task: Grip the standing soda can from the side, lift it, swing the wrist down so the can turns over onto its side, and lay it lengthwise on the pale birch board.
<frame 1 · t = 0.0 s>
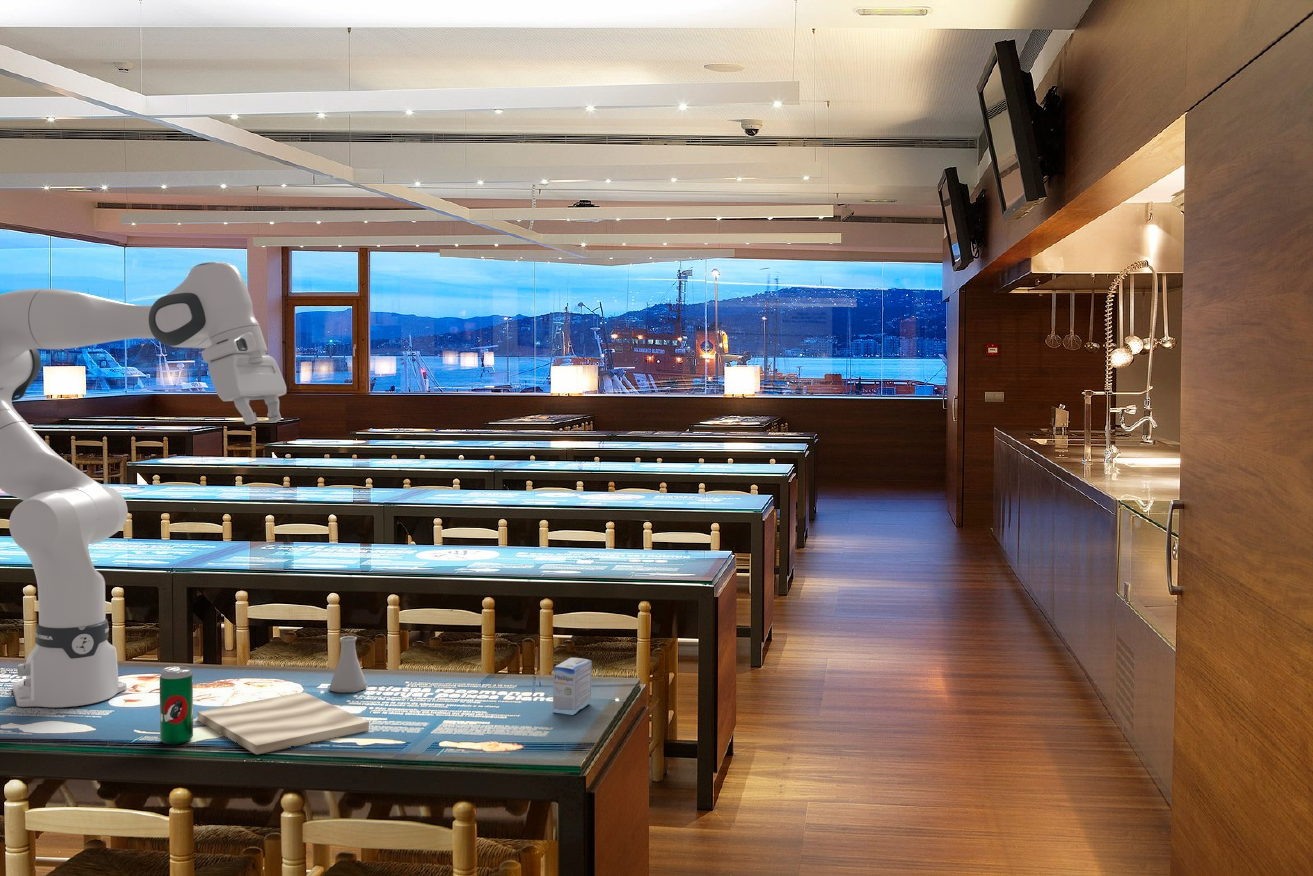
hand: (264, 422, 212), 52 cm above the table, tool tilted 20°, fingers open, 8 cm apart
birch board: (282, 725, 205), on the table
medicine box: (572, 710, 218), on the table
soda can: (176, 742, 196), on the table
flask: (348, 690, 229), on the table
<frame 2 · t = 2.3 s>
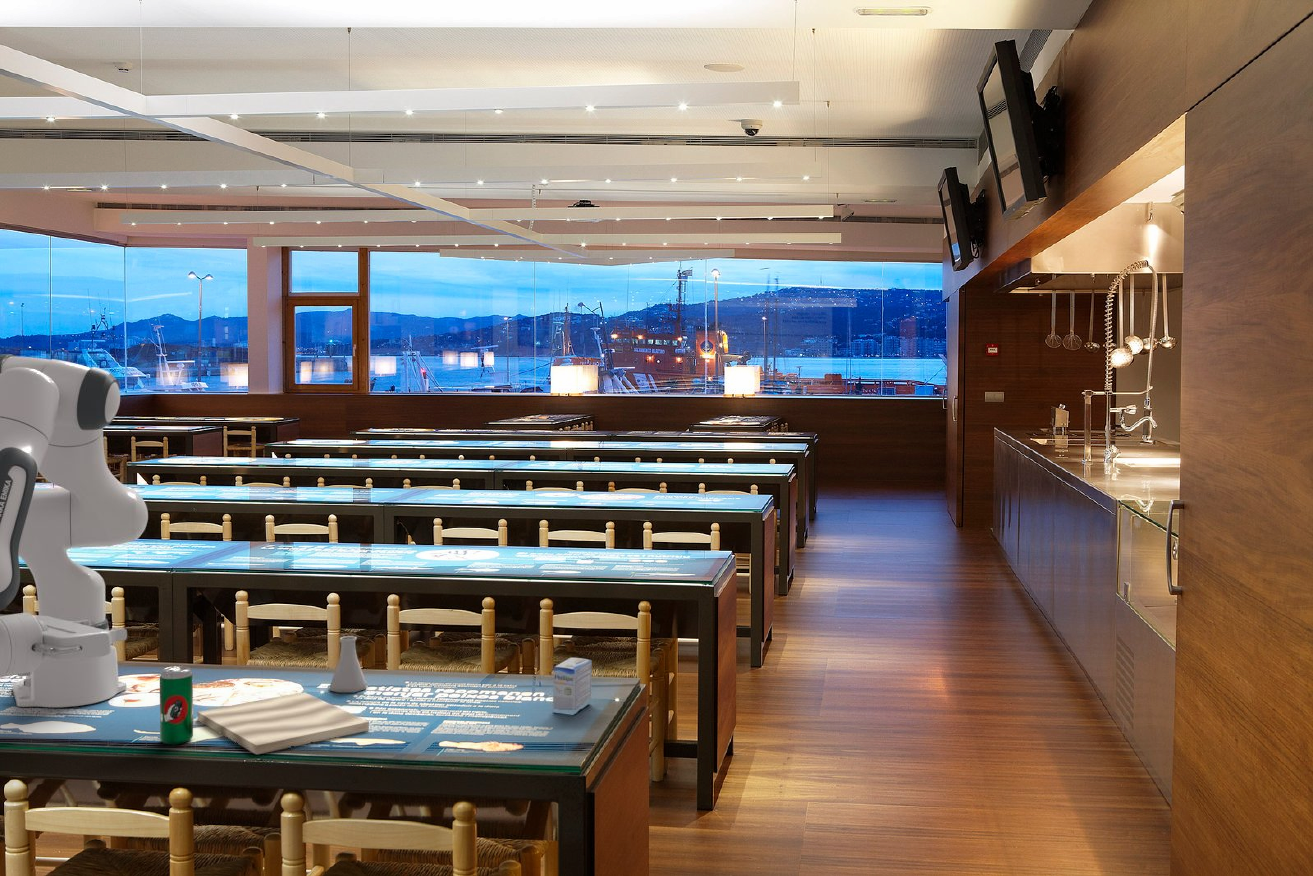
hand: (108, 629, 185), 21 cm above the table, tool horizontal, fingers open, 8 cm apart
nothing on the table moved.
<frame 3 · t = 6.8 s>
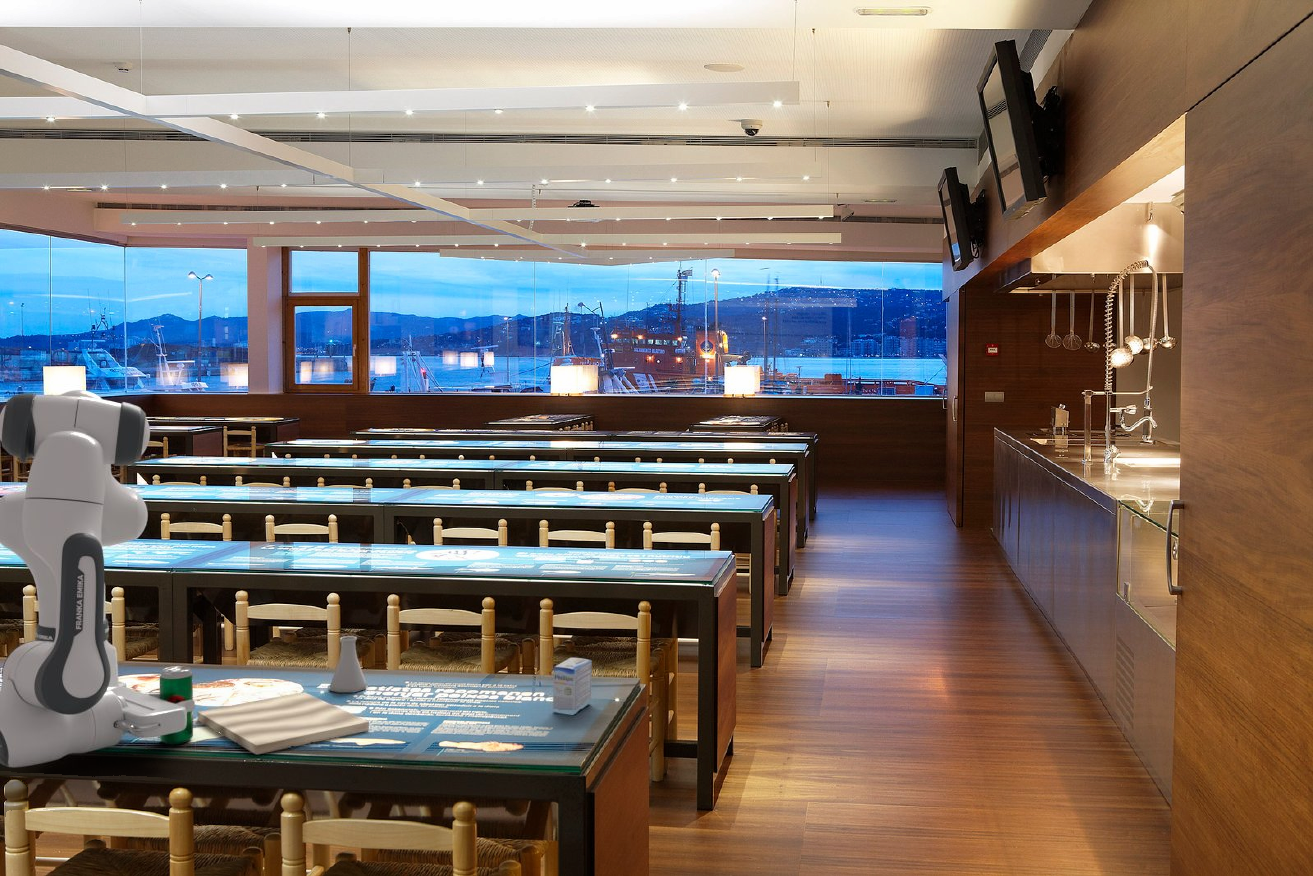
hand: (181, 700, 196), 7 cm above the table, tool horizontal, fingers closed on soda can, 5 cm apart
soda can: (176, 742, 196), on the table, touching gripper
everything else where it was.
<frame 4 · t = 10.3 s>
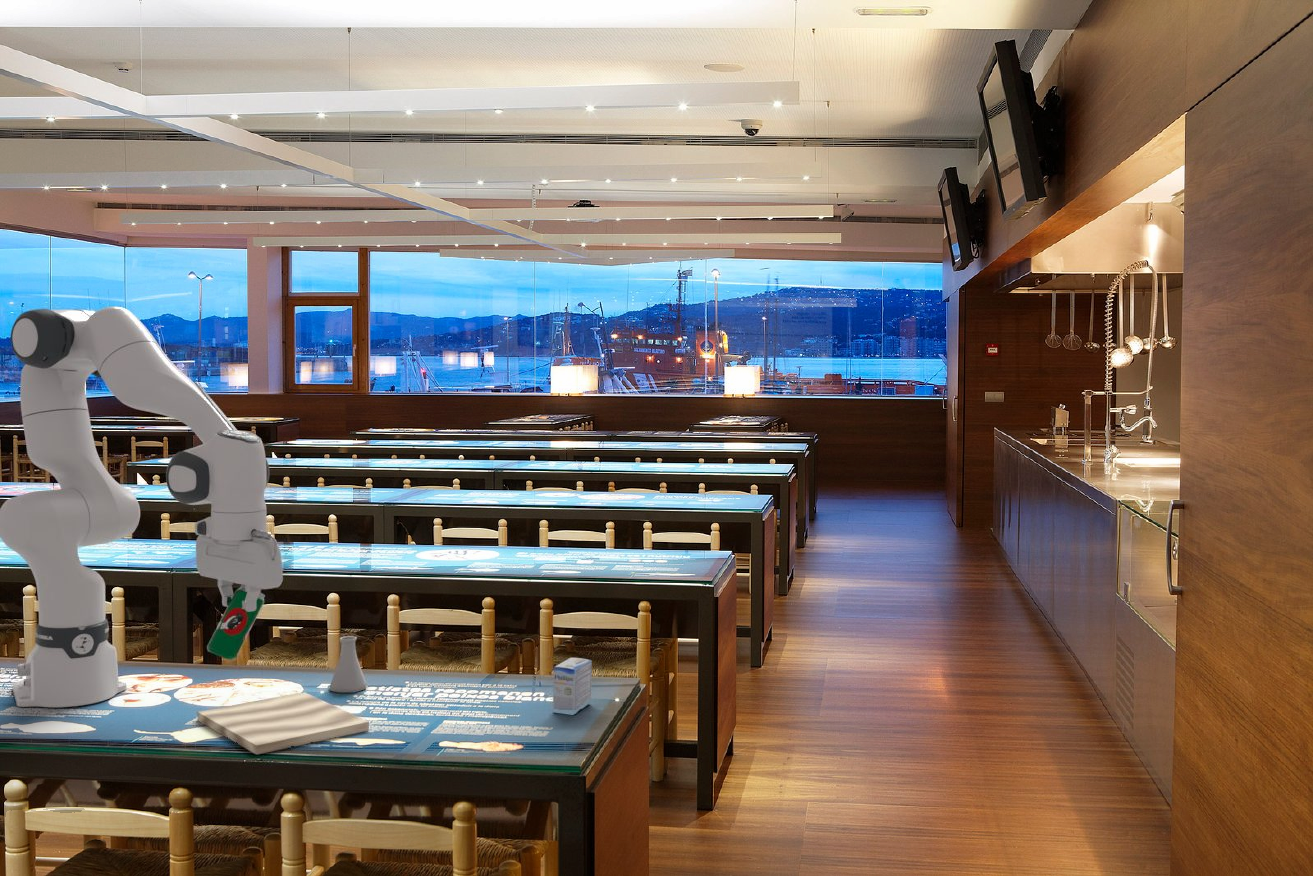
hand: (239, 608, 200), 21 cm above the table, tool pointing down
soda can: (219, 657, 198), point 13 cm above the table, touching gripper
everything else where it was.
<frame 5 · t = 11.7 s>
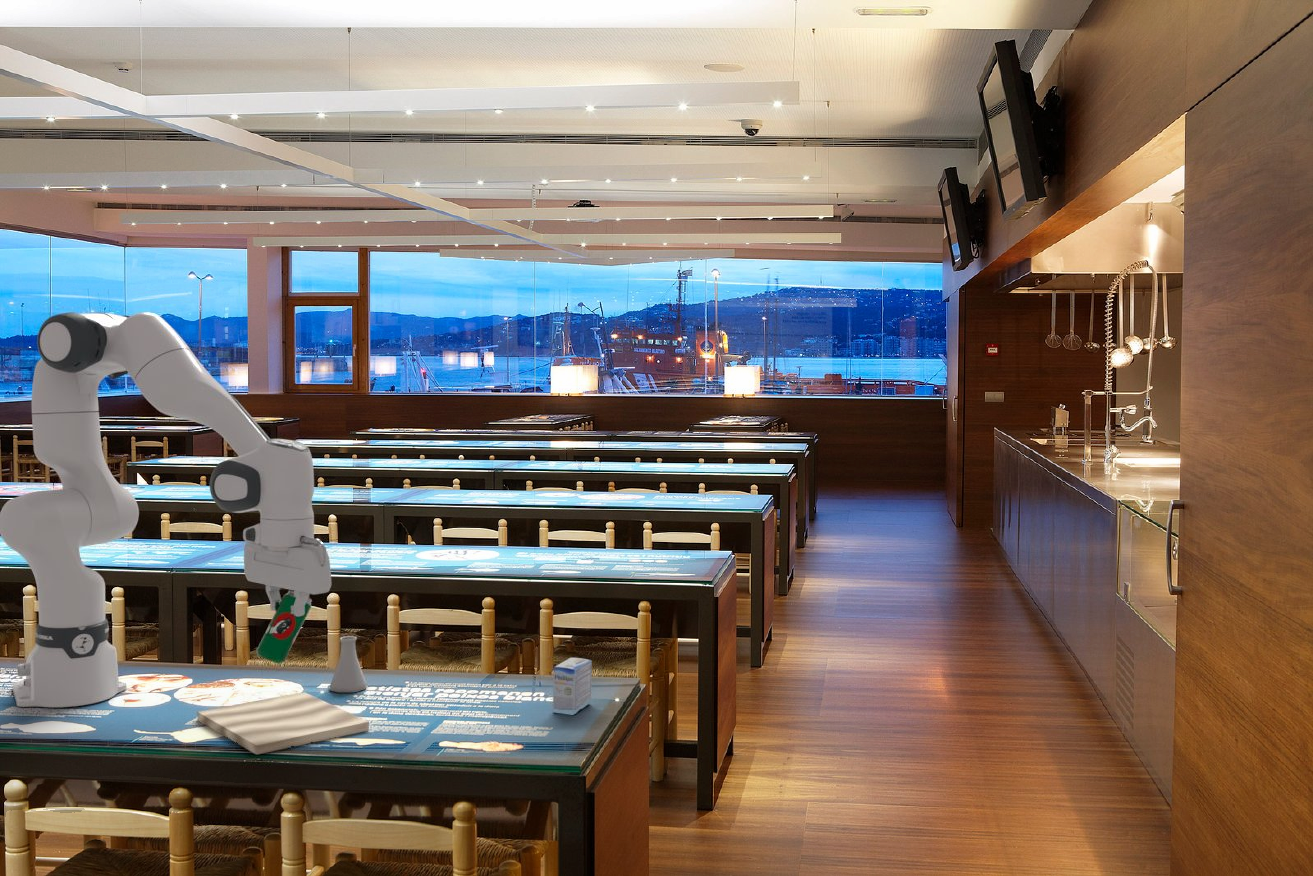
hand: (287, 613, 205), 19 cm above the table, tool pointing down
soda can: (268, 660, 203), point 12 cm above the table, touching gripper
everything else where it was.
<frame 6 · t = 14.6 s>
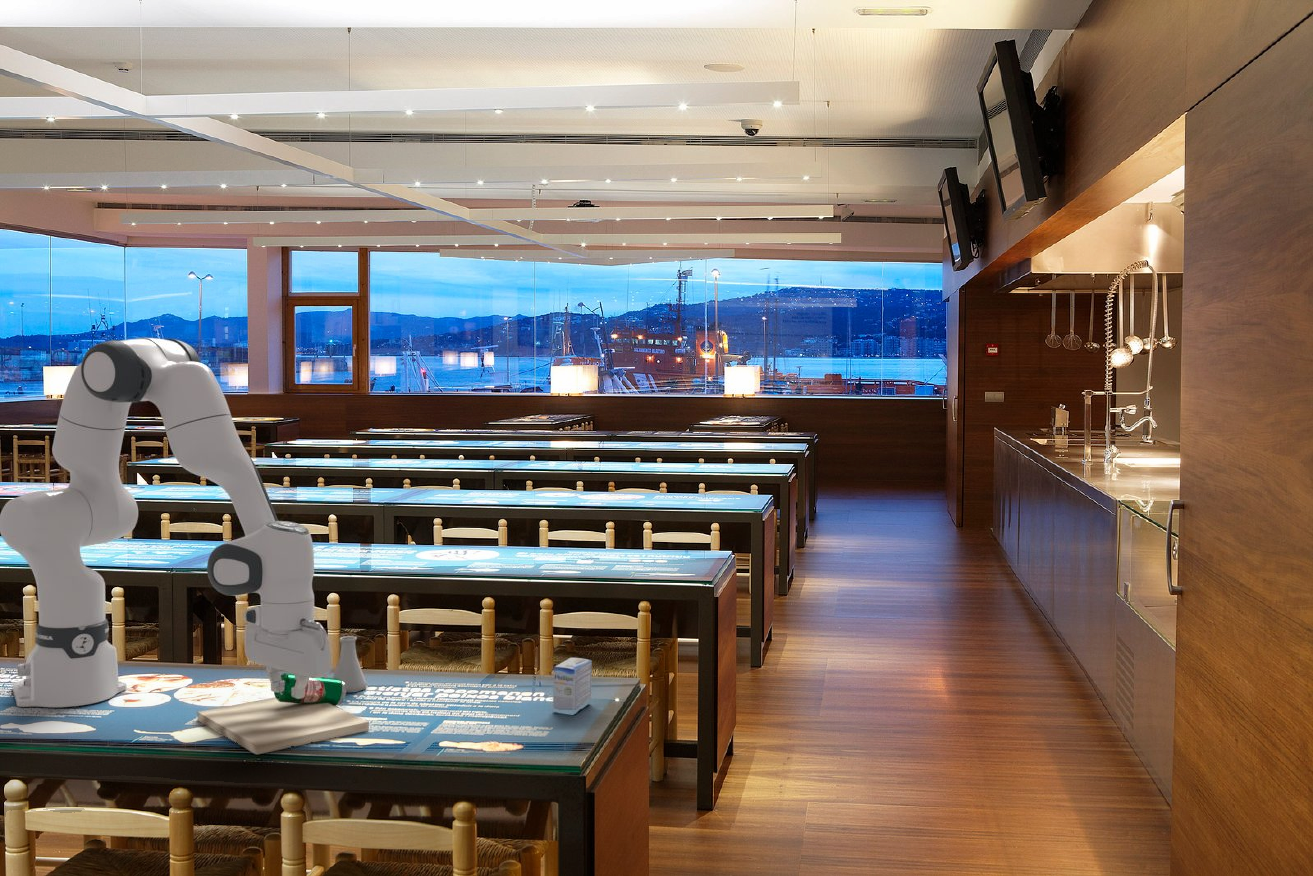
hand: (287, 694, 205), 5 cm above the table, tool pointing down, fingers open, 4 cm apart
soda can: (278, 687, 210), point 5 cm above the table, touching birch board
everything else where it was.
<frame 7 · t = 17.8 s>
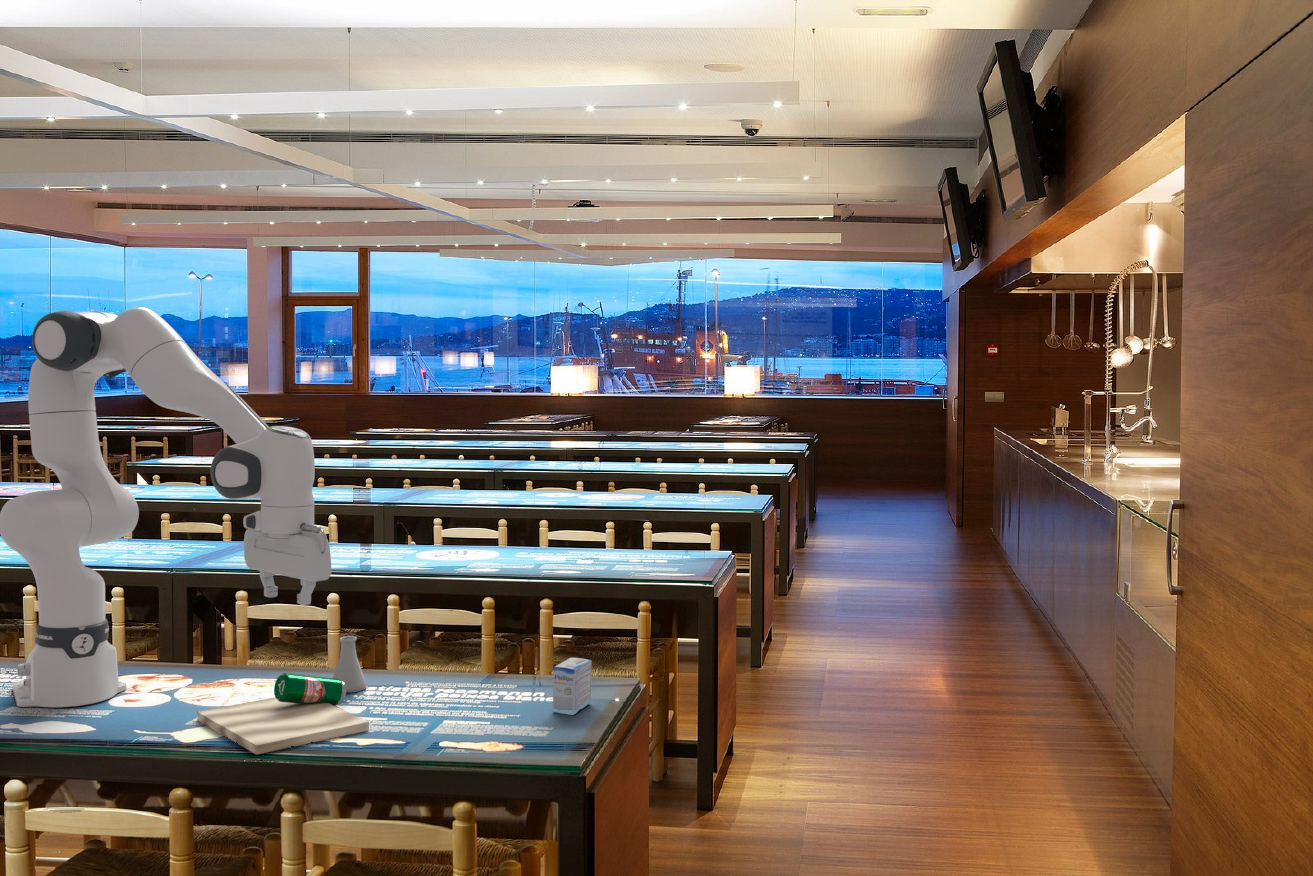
hand: (287, 600, 205), 22 cm above the table, tool pointing down, fingers open, 8 cm apart
nothing on the table moved.
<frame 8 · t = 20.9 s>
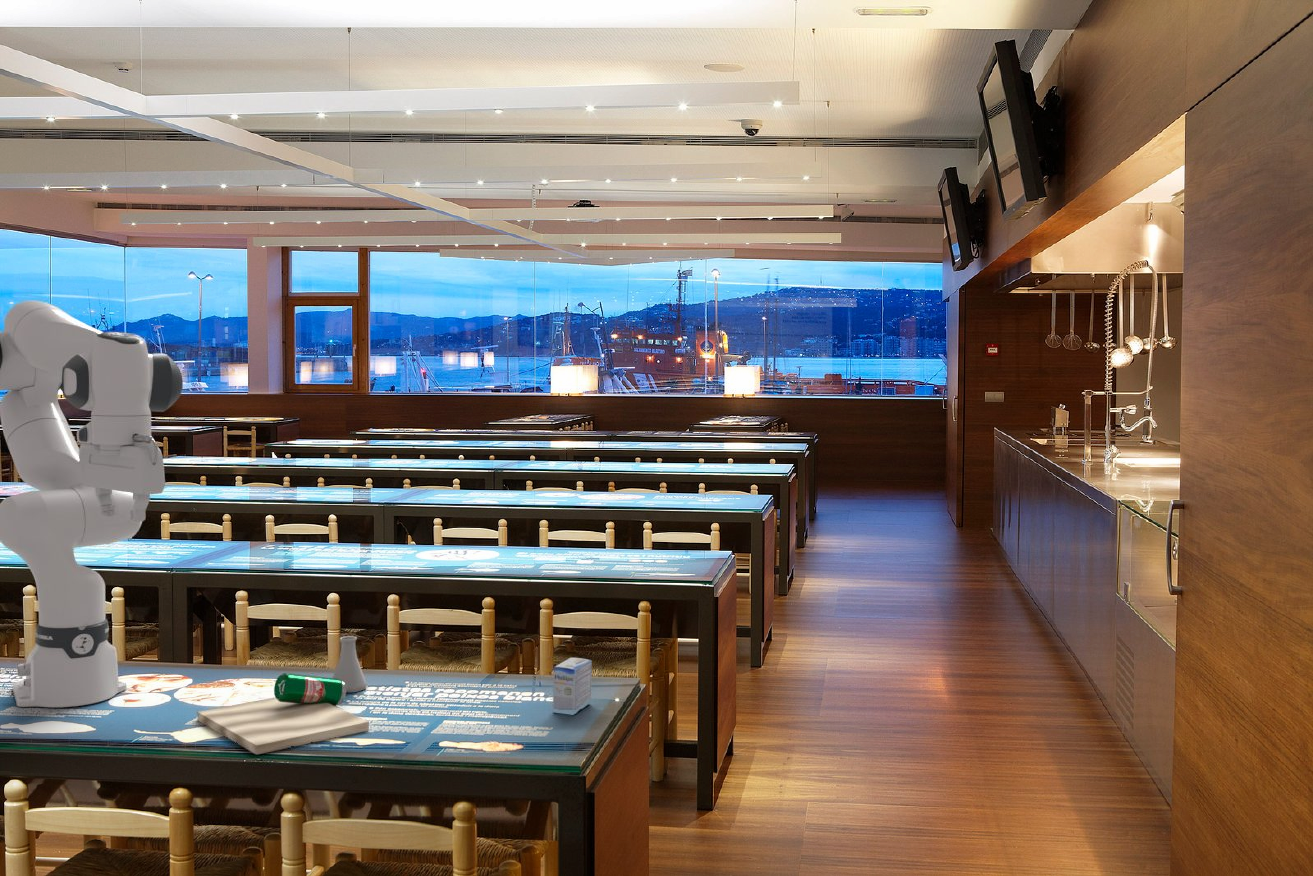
hand: (122, 518, 192), 37 cm above the table, tool pointing down, fingers open, 8 cm apart
nothing on the table moved.
at the end: soda can tilted 105°; soda can inside the target area on the birch board (5.3 cm from its centre), point 5.4 cm above the birch board's base; the gripper is holding nothing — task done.
